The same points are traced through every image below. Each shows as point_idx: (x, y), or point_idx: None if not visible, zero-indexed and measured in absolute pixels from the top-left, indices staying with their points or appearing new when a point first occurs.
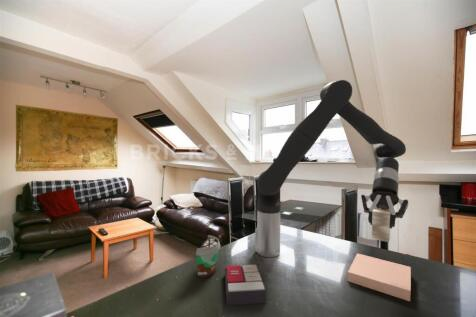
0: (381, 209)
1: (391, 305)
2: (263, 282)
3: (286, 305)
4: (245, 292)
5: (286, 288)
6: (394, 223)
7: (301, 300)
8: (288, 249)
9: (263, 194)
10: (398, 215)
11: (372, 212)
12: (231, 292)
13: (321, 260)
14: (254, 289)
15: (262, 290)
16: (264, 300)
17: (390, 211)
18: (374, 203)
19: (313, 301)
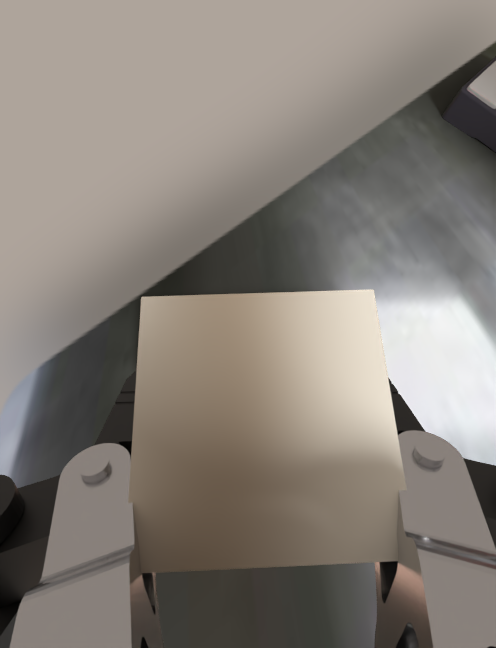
0: (283, 524)
1: (202, 280)
2: (493, 113)
3: (402, 133)
4: (489, 62)
5: (444, 182)
6: (128, 379)
7: (387, 165)
8: None
9: None
10: (37, 486)
11: (365, 298)
12: None
13: (470, 416)
14: (482, 72)
15: (467, 84)
16: (447, 107)
17: (130, 480)
18: (489, 602)
19: (364, 178)
